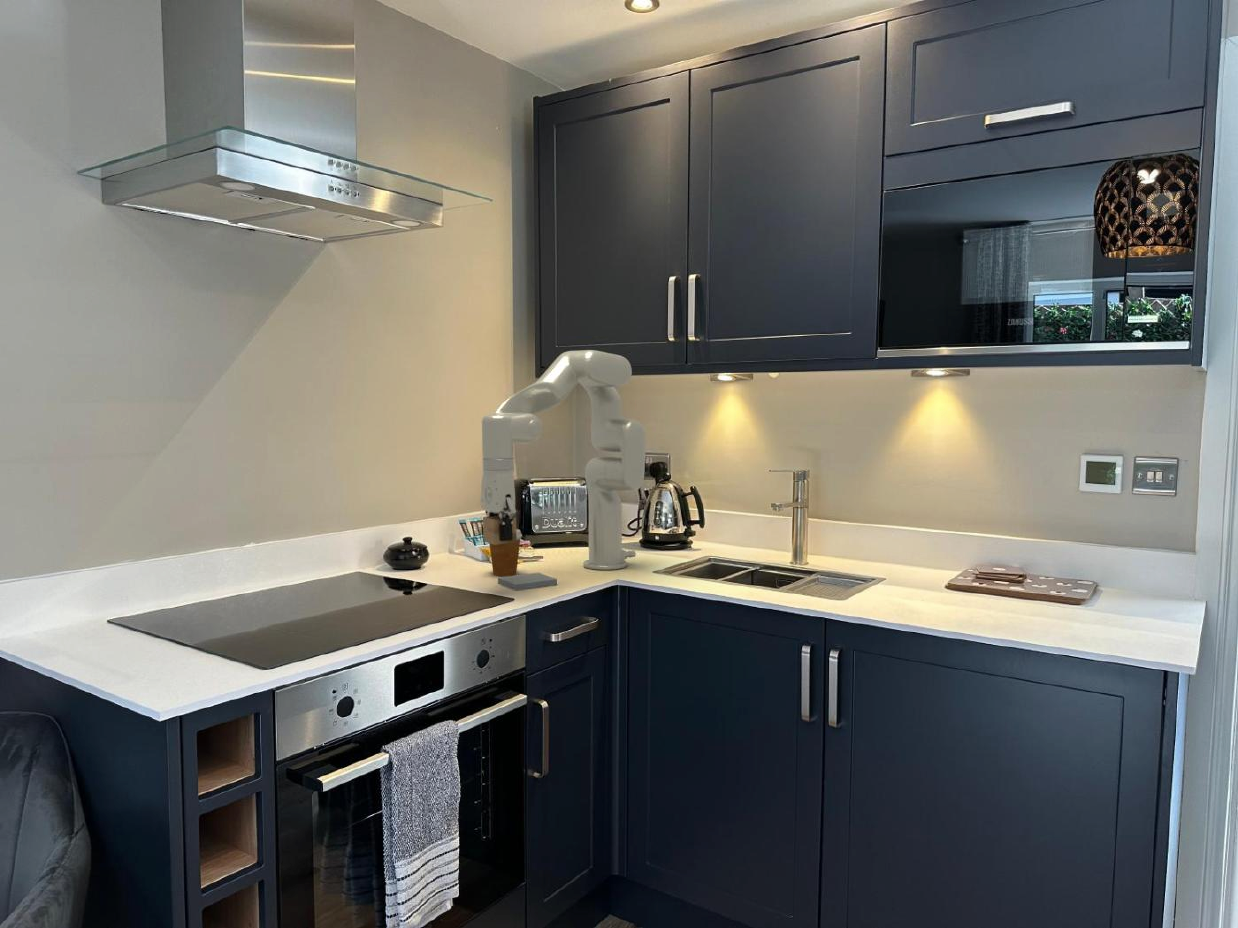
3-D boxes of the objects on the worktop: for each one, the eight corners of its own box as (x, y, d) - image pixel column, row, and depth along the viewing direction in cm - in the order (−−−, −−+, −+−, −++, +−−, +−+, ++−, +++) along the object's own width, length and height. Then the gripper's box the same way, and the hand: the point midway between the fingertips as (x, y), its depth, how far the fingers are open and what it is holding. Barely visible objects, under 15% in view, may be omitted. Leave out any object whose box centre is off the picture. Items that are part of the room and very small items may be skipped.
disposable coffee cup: (480, 573, 230) (480, 530, 229) (509, 569, 236) (509, 527, 235) (499, 579, 223) (499, 534, 222) (529, 574, 229) (528, 531, 228)
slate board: (538, 578, 224) (538, 572, 224) (557, 584, 216) (557, 579, 216) (497, 583, 217) (497, 577, 217) (515, 590, 209) (515, 584, 209)
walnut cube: (505, 538, 209) (504, 514, 208) (516, 542, 204) (516, 517, 204) (483, 541, 206) (482, 517, 205) (494, 544, 201) (493, 520, 200)
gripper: (469, 464, 208) (471, 535, 210) (500, 468, 194) (501, 545, 196) (496, 462, 212) (498, 532, 214) (528, 467, 198) (530, 542, 200)
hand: (499, 537), depth 205 cm, fingers closed on walnut cube, 6 cm apart
